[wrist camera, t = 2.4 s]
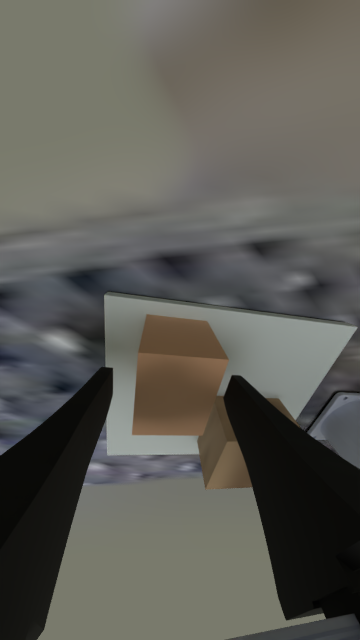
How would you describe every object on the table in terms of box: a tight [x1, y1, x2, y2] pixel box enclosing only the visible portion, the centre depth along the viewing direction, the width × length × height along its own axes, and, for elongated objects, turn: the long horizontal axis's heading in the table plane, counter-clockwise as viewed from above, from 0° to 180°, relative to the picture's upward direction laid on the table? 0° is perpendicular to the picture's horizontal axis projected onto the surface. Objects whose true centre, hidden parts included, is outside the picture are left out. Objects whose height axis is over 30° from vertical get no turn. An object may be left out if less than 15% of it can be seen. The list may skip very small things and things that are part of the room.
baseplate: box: [104, 292, 358, 455], centre depth 16 cm, size 20×18×1 cm
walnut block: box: [197, 396, 301, 489], centre depth 16 cm, size 7×7×4 cm
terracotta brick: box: [132, 314, 229, 436], centre depth 11 cm, size 4×6×4 cm
